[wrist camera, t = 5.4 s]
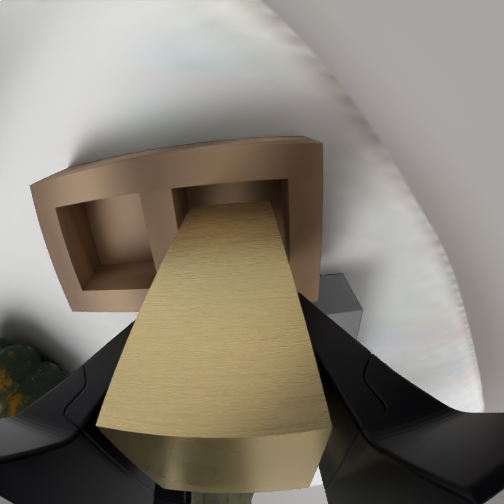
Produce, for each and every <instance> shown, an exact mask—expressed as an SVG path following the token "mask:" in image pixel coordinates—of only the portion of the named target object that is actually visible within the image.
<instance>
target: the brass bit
mask: <svg viewBox="0 0 504 504" xmlns="http://www.w3.org/2000/svg"><path fill="white" fill-rule="evenodd" d="M96 427H97V428H98V429H99V430H100V431H101V432H102V433H103V434H104V435H105V436H106V437H107V438H108V439H109V440H110V441H111V442H112V443H113V444H114V445H115V446H116V447H117V448H118V449H119V450H120V451H121V452H122V453H123V454H124V455H125V456H126V457H127V458H128V459H129V460H130V461H131V462H132V463H134V464H135V465H136V466H137V467H138V468H139V469H140V470H142V471H143V472H144V473H145V474H146V475H147V476H149V477H150V478H151V479H152V480H153V481H155V482H156V483H157V484H158V485H160V486H161V487H162V488H163V489H171V490H180V491H192V492H208V493H256V492H272V491H283V490H293V489H301V488H308V487H309V486H310V484H311V481H312V479H313V477H314V474H315V472H316V470H317V467H318V465H319V462H320V460H321V457H322V455H323V452H324V449H325V447H326V444H327V441H328V439H329V436H330V433H331V430H332V424H331V420H330V416H329V412H328V407H327V403H326V399H325V395H324V391H323V387H322V383H321V379H320V375H319V371H318V368H317V364H316V360H315V356H314V352H313V348H312V345H311V341H310V337H309V334H308V330H307V326H306V322H305V319H304V315H303V312H302V308H301V304H300V301H299V297H298V294H297V290H296V287H295V283H294V280H293V276H292V273H291V269H290V266H289V263H288V259H287V256H286V252H285V249H284V246H283V242H282V239H281V236H280V232H279V229H278V226H277V223H276V219H275V216H274V213H273V210H272V207H271V203H270V201H256V202H242V203H230V204H218V205H207V206H197V207H190V209H189V211H188V213H187V215H186V217H185V218H184V220H183V222H182V224H181V226H180V228H179V230H178V232H177V234H176V236H175V238H174V240H173V242H172V244H171V246H170V248H169V250H168V252H167V254H166V256H165V258H164V260H163V262H162V264H161V266H160V268H159V270H158V272H157V274H156V276H155V278H154V281H153V283H152V285H151V287H150V289H149V291H148V293H147V296H146V298H145V300H144V302H143V305H142V307H141V309H140V311H139V314H138V316H137V318H136V320H135V323H134V325H133V327H132V330H131V332H130V335H129V337H128V339H127V342H126V344H125V347H124V349H123V352H122V354H121V357H120V359H119V362H118V364H117V367H116V369H115V372H114V375H113V377H112V380H111V383H110V385H109V388H108V391H107V394H106V396H105V399H104V402H103V405H102V408H101V411H100V414H99V417H98V420H97V423H96Z"/></svg>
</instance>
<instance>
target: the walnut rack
mask: <svg viewBox="0 0 504 504" xmlns="http://www.w3.org/2000/svg"><path fill="white" fill-rule="evenodd" d="M30 189H31V193H32V197H33V201H34V205H35V209H36V213H37V217H38V220H39V224H40V227H41V230H42V234H43V237H44V240H45V243H46V246H47V249H48V252H49V255H50V258H51V260H52V263H53V266H54V269H55V271H56V274H57V276H58V279H59V281H60V284H61V286H62V289H63V291H64V293H65V296H66V298H67V300H68V303H69V305H70V307H71V309H72V311H76V312H139V311H140V309H141V307H142V305H143V302H144V300H145V298H146V296H147V293H148V291H149V289H150V287H151V285H152V283H153V281H154V278H155V276H156V274H157V272H158V270H159V268H160V266H161V264H162V262H163V260H164V258H165V256H166V254H167V252H168V250H169V248H170V246H171V244H172V242H173V240H174V238H175V236H176V234H177V232H178V230H179V228H180V226H181V224H182V222H183V220H184V218H185V217H186V215H187V213H188V211H189V209H190V207H197V206H207V205H218V204H230V203H242V202H256V201H270V203H271V207H272V210H273V213H274V216H275V219H276V223H277V226H278V229H279V232H280V236H281V239H282V242H283V246H284V249H285V252H286V256H287V259H288V263H289V266H290V269H291V273H292V276H293V280H294V283H295V287H296V290H297V292H299V293H301V294H303V295H304V296H305V297H306V298H307V299H308V300H310V301H311V302H316V301H318V291H319V277H320V260H321V238H322V204H323V145H322V143H321V142H318V141H316V140H313V139H310V138H307V137H304V136H285V137H262V138H246V139H234V140H222V141H212V142H203V143H195V144H187V145H180V146H173V147H166V148H160V149H154V150H148V151H142V152H137V153H131V154H126V155H121V156H117V157H112V158H107V159H103V160H98V161H94V162H90V163H86V164H82V165H78V166H74V167H70V168H67V169H64V170H62V171H60V172H57V173H55V174H53V175H51V176H49V177H46V178H44V179H42V180H40V181H38V182H36V183H34V184H32V185H30Z"/></svg>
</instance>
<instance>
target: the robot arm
mask: <svg viewBox="0 0 504 504" xmlns="http://www.w3.org/2000/svg"><path fill="white" fill-rule="evenodd" d="M297 294H298V297H299V301H300V304H301V308H302V312H303V315H304V319H305V322H306V326H307V330H308V334H309V337H310V341H311V345H312V348H313V352H314V356H315V360H316V364H317V368H318V371H319V375H320V379H321V383H322V387H323V391H324V395H325V399H326V403H327V407H328V412H329V416H330V420H331V424H332V430H331V433H330V436H329V439H328V441H327V444H326V447H325V449H324V452H323V455H322V457H321V460H320V462H319V469H320V473H321V477H322V481H323V485H324V488H325V489H326V490H325V493H326V497H327V501H328V504H504V413H469V412H462V411H459V410H455V409H453V408H451V407H449V406H447V405H445V404H443V403H442V402H440V401H439V400H437V399H436V398H434V397H433V396H431V395H429V394H428V393H426V392H425V391H423V390H422V389H420V388H419V387H417V386H416V385H414V384H413V383H411V382H410V381H408V380H407V379H405V378H404V377H402V376H401V375H399V374H398V373H397V372H395V371H394V370H393V369H391V368H390V367H389V366H388V365H386V364H385V363H384V362H382V361H381V360H380V359H379V358H378V357H376V356H375V355H374V354H371V352H370V351H369V350H368V349H367V348H366V347H364V346H363V345H362V344H361V343H360V342H358V341H357V340H356V339H355V338H354V337H353V336H351V335H350V334H349V333H348V332H347V331H345V330H344V329H343V328H342V327H341V326H339V325H338V324H337V323H336V322H335V321H333V320H332V319H331V318H330V317H329V316H328V315H326V314H325V313H324V312H323V311H322V310H320V309H319V308H318V307H317V306H316V305H314V304H313V303H312V302H311V301H310V300H308V299H307V298H306V297H305V296H304V295H303V294H301V293H299V292H297ZM134 323H135V321H133V322H132V323H131V324H130V325H129V326H127V327H126V328H125V329H124V330H123V331H121V332H120V333H119V334H118V335H117V336H116V337H114V338H113V339H112V340H111V341H110V342H108V343H107V344H106V345H105V346H104V347H103V348H101V349H100V350H99V351H98V352H97V353H95V354H94V355H93V356H92V357H91V358H90V359H88V360H87V361H86V362H85V363H84V365H81V366H80V367H79V368H78V369H77V370H76V371H74V372H73V373H72V374H71V375H70V376H68V377H67V378H66V379H65V380H64V381H62V382H61V383H60V384H59V385H57V386H56V387H55V388H53V389H52V390H51V391H49V392H48V393H46V394H45V395H44V396H42V397H41V398H40V399H38V400H37V401H35V402H34V403H33V404H31V405H30V406H29V407H27V408H26V409H25V410H23V411H22V412H20V413H19V414H17V415H15V416H12V417H9V418H3V419H0V504H191V501H192V494H191V491H180V490H171V489H163V488H162V487H161V486H160V485H158V484H157V483H156V482H155V481H153V480H152V479H151V478H150V477H149V476H147V475H146V474H145V473H144V472H143V471H142V470H140V469H139V468H138V467H137V466H136V465H135V464H134V463H132V462H131V461H130V460H129V459H128V458H127V457H126V456H125V455H124V454H123V453H122V452H121V451H120V450H119V449H118V448H117V447H116V446H115V445H114V444H113V443H112V442H111V441H110V440H109V439H108V438H107V437H106V436H105V435H104V434H103V433H102V432H101V431H100V430H99V429H98V428H97V427H96V423H97V420H98V417H99V414H100V411H101V408H102V405H103V402H104V399H105V396H106V394H107V391H108V388H109V385H110V383H111V380H112V377H113V375H114V372H115V369H116V367H117V364H118V362H119V359H120V357H121V354H122V352H123V349H124V347H125V344H126V342H127V339H128V337H129V335H130V332H131V330H132V327H133V325H134Z"/></svg>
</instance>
